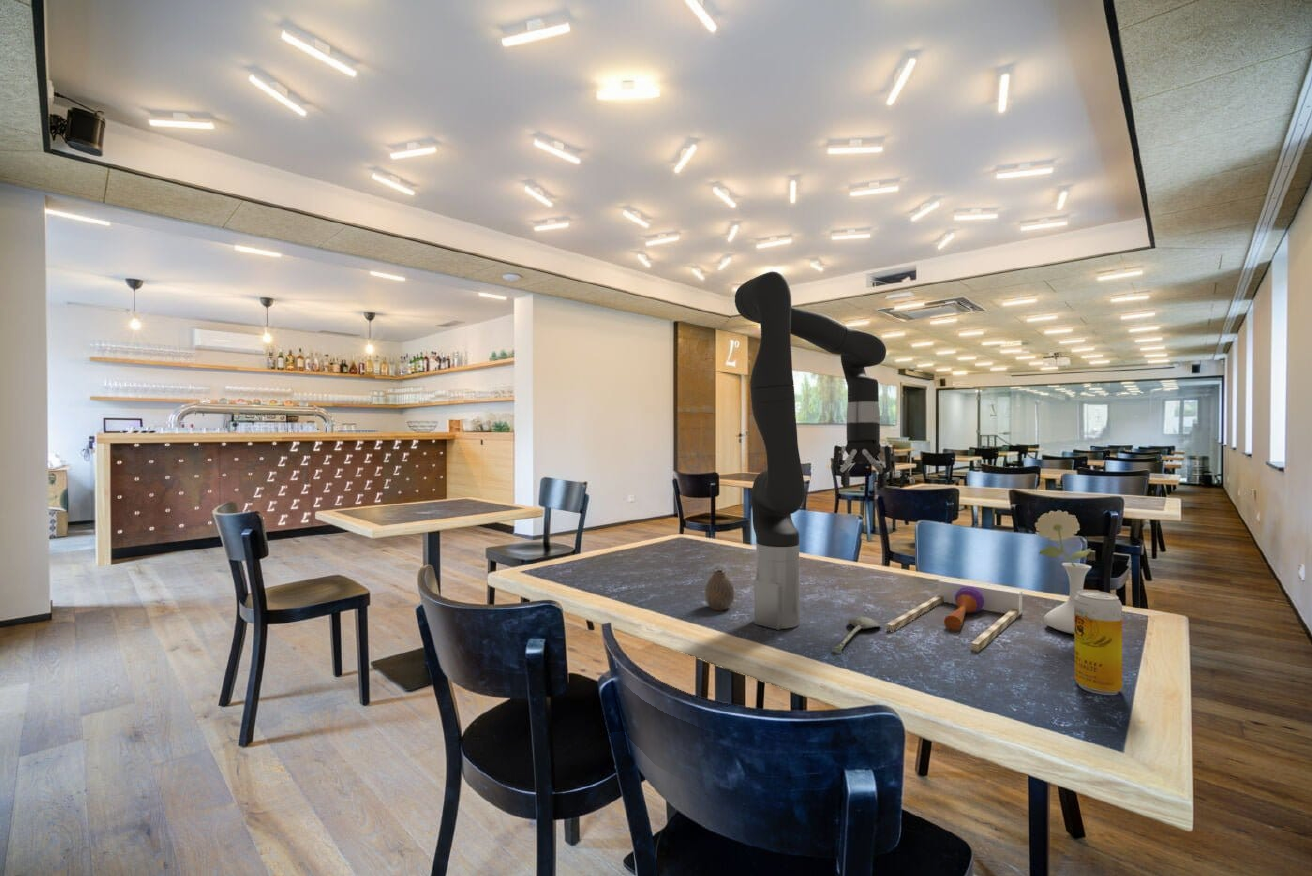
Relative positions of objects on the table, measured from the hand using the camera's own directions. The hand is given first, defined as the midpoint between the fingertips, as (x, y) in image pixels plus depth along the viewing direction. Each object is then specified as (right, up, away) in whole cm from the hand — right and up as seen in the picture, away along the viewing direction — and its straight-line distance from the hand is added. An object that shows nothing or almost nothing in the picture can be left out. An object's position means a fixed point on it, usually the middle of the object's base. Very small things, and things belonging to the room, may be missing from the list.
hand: (863, 488), depth 138 cm
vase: (-35, -28, -1) cm, 45 cm away
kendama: (+19, -29, -10) cm, 36 cm away
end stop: (+27, -28, -1) cm, 39 cm away
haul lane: (+15, -28, -13) cm, 35 cm away
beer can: (+21, -28, -46) cm, 58 cm away
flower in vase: (+37, -28, -18) cm, 50 cm away
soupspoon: (-10, -29, -21) cm, 37 cm away
